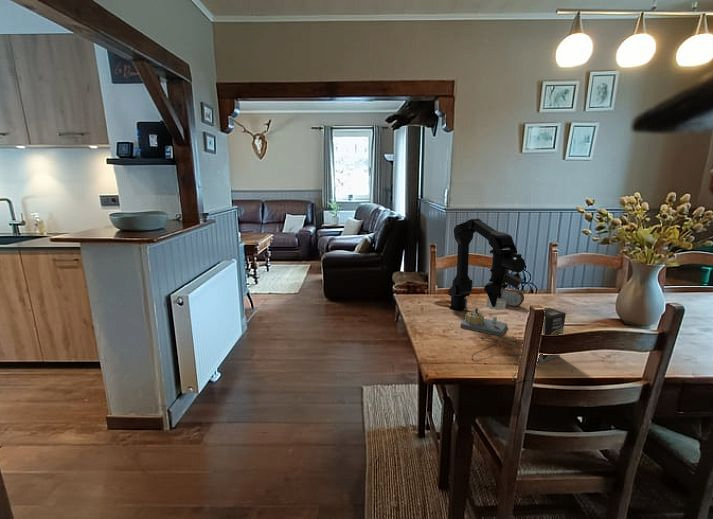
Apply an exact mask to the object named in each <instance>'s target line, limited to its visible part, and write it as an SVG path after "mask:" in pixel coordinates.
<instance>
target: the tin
mask: <svg viewBox="0 0 713 519" xmlns="http://www.w3.org/2000/svg"><path fill="white" fill-rule="evenodd" d="M501 298H503V300H506V306H508V305H509V307H519V306H521V305H522V304H523V302H524V300H525V294H524V293H523V291H521V290H520V289H519V288H514V287H513V288H512V287H506V288H505V289H504V290H503V293H502V296H501Z"/></svg>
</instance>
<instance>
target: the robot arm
mask: <svg viewBox="0 0 713 519" xmlns="http://www.w3.org/2000/svg"><path fill="white" fill-rule="evenodd" d="M474 233H477V234H479V235H480V236H482V237H483V238H484V239H486V240H487V241H488V242H487V243H488V245H489V246H490V247H491V248H492V249H490V250H489V253H490V254H492V257H491V258H492V259H491V268H490V270H489V271H490V278H489V279H488V281H489V282H488V283H486V284H485V285H484V286H483V291H484V292H485V293H486V294H487V296H488V298H489V299H490V302H491V305H492V307H495V306H496V303H497V299H498V298H501V296H502V293H503V290H504V289H505V288H506V287H507V288H509V286H511V287H513V289H519V287H520V285H521V283H522V281H523V278H522V276H521V275H522V274H521V272H523V271H524V269H525V267H526V262H525V259H524V258H523V257H522V254H521V253H518V250H517V247H516V244H515V241H514V240H513V237H512V235H511V234H509V233H505V232H502V231H498V230H496V229H495V228H493V227H492V226H490V225H488V224H487V223H485V222H484V221H482V220H481V219H480V218H471V219H468V220H467V221H464V222H462V223H459V224H456V225H455V226H454V229H453V237H454V239H455V242H456V243H457V253H456V254H457V257H456V258H457V261H456V275H455V276H454V278H453V280H452V286H451V287H450V288H449V289H448V290H447V292H448V296H450V306H449V309H450V310H456V311H461V312H463V311H465V309H467V306H468V299H467V297H470V295H471V292H472V290H473V279H471V278H470V276H469V261H470V260H469V258H470V257H469V256H470V244H471V242H472V240H474ZM510 271H511V272H514V273H510Z"/></svg>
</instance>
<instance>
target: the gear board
mask: <svg viewBox="0 0 713 519" xmlns="http://www.w3.org/2000/svg"><path fill="white" fill-rule="evenodd" d="M497 319H498V318H497V316H492V319H487V318H485V314H482V313H481V312H479V308H477V307H475V310H474V311H467V312H466V313H465V319H463V321H462V322H461V323H460V328H461V329H467V330H472V331H476V332H481V333H485V334H489V335H494V336H499V337H502V335H503V334H504V332H505V331H506V329H507V327H508V323H506V322H503V321H498V320H497Z"/></svg>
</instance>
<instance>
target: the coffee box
mask: <svg viewBox="0 0 713 519" xmlns="http://www.w3.org/2000/svg"><path fill="white" fill-rule="evenodd" d="M543 309H544V311H545V319H544V326H543V334H544V335H559V334H563V335H564V328H565V322H566V315H567V313H566V312H564V311H560V310H557V309H554V308H551V307H548V308H543ZM560 356H561V354H560V355H543V354H540V355H539V359H537V360H538V361H540V362H541V363H544V362H546V361H550V360H554V359H556V358H560Z"/></svg>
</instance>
